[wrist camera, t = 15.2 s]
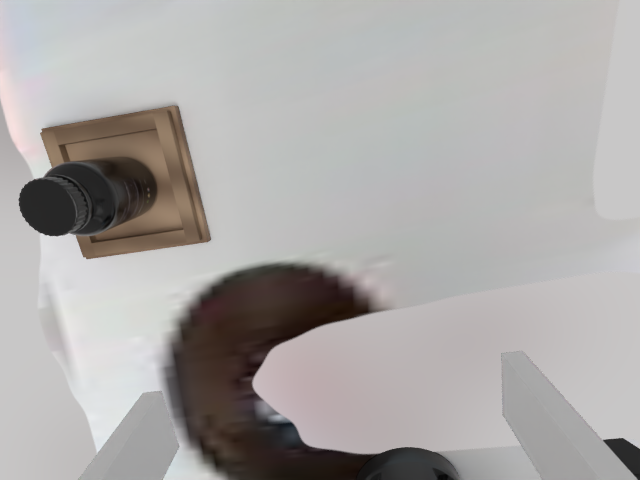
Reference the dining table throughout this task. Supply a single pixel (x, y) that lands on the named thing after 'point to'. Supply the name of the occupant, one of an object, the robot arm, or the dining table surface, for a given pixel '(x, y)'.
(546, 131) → the dining table surface
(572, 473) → the robot arm
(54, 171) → the supplement bottle
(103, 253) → the walnut tray
